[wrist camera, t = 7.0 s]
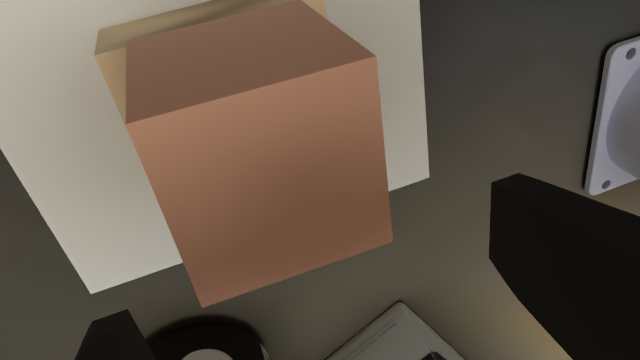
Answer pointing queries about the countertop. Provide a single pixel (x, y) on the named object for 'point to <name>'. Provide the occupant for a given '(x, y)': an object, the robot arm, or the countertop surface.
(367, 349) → the tea box
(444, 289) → the countertop surface
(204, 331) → the beverage can
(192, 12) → the bottom brick
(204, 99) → the top brick
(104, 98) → the build plate
